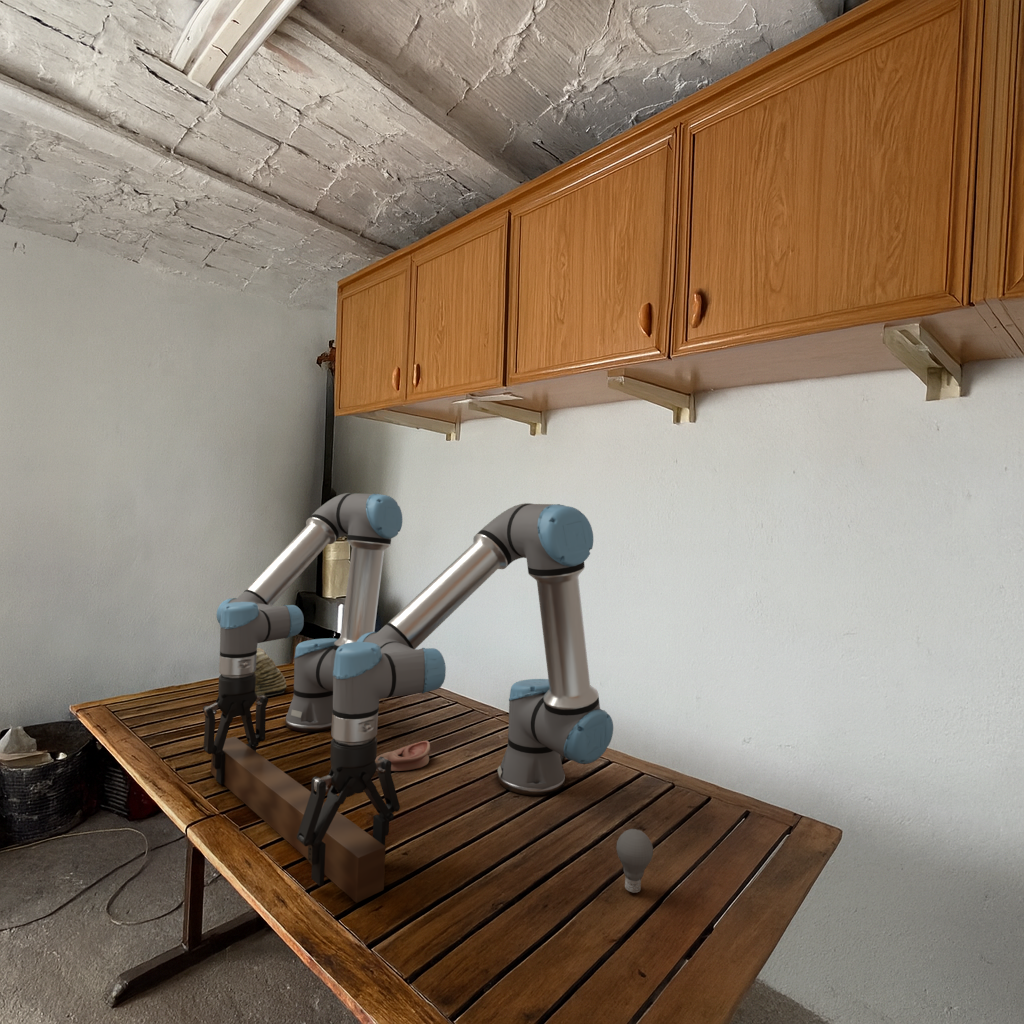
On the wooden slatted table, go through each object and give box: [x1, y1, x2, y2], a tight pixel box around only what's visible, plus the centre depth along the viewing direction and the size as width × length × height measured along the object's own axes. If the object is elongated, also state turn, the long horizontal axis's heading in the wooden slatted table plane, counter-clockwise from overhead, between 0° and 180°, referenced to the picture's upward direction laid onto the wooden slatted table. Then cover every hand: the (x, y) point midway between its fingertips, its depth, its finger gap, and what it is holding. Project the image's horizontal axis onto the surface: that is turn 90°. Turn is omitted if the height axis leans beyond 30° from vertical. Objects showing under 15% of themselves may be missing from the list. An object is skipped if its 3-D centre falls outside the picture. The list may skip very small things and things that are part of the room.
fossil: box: [254, 647, 288, 697], centre depth 198 cm, size 9×18×15 cm, turn 132°
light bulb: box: [615, 828, 654, 894], centre depth 106 cm, size 6×6×10 cm
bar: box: [210, 736, 386, 904], centre depth 123 cm, size 61×5×7 cm, turn 45°
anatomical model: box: [375, 740, 431, 772], centre depth 153 cm, size 13×4×12 cm
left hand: (233, 778), depth 140 cm, fingers closed on bar, 5 cm apart
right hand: (349, 867), depth 106 cm, fingers open, 11 cm apart
